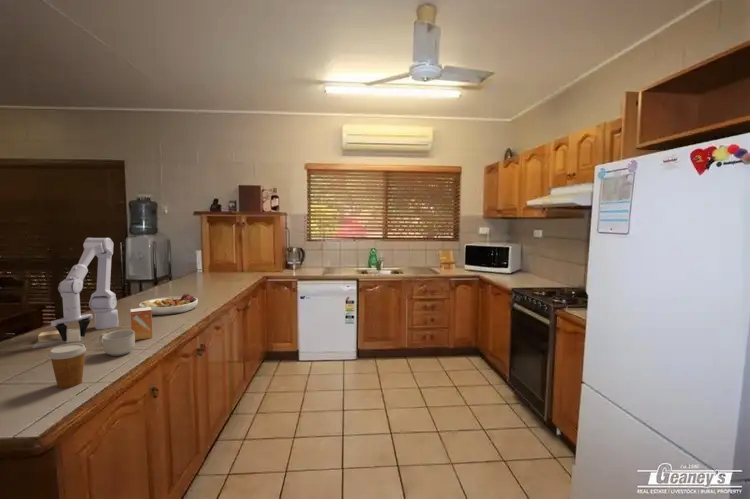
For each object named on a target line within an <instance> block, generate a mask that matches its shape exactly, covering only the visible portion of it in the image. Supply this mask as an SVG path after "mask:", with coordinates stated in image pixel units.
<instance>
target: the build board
mask: <svg viewBox="0 0 750 499" xmlns="http://www.w3.org/2000/svg"><path fill="white" fill-rule="evenodd" d="M83 339H84V337H82V336H81V339H80V341H75V342H67V343H66V341H62V340H58V341H50V342H43V343H39V340H37V341H36V342H35V343H34V344H33V346H32V349H37V348H38V349H39V348H44V347H45V348H46V347H52V346H62V345H68V344H77V343H81V342H82V341H83Z"/></svg>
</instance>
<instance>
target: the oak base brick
mask: <svg viewBox="0 0 750 499" xmlns="http://www.w3.org/2000/svg"><path fill="white" fill-rule="evenodd" d="M38 340H39V343H43V342H50V341H58V340H62V338H61V335H60V333H59V331H58V330H57V329H56V330H51V331H49V330H48V331H42V332H40V333H39V334H38ZM38 340H37V341H38Z"/></svg>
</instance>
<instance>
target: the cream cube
mask: <svg viewBox="0 0 750 499" xmlns="http://www.w3.org/2000/svg"><path fill="white" fill-rule="evenodd" d="M66 335H67V341H66V343H67V342H75V341H80V339H81V330H80V327H76V328H69V329H68V328H67V330H66Z"/></svg>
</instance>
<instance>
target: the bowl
mask: <svg viewBox="0 0 750 499" xmlns="http://www.w3.org/2000/svg"><path fill="white" fill-rule="evenodd" d="M198 302H199V298H197V297H195V296H193V295H191V294H190V293H189V292H185V293H184V294H182V295H181V296H180V295H179V296H176V295H175V296H166V297H165V296H163V297H158V298H151V299H148V300H144V301H142V302H139V304H138V305H139V308H147V307H151V310H152V316H165V315H175V314H181V313H185V312H189V311H191V310H193V309H195V308H196V307H197V305H198Z"/></svg>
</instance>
